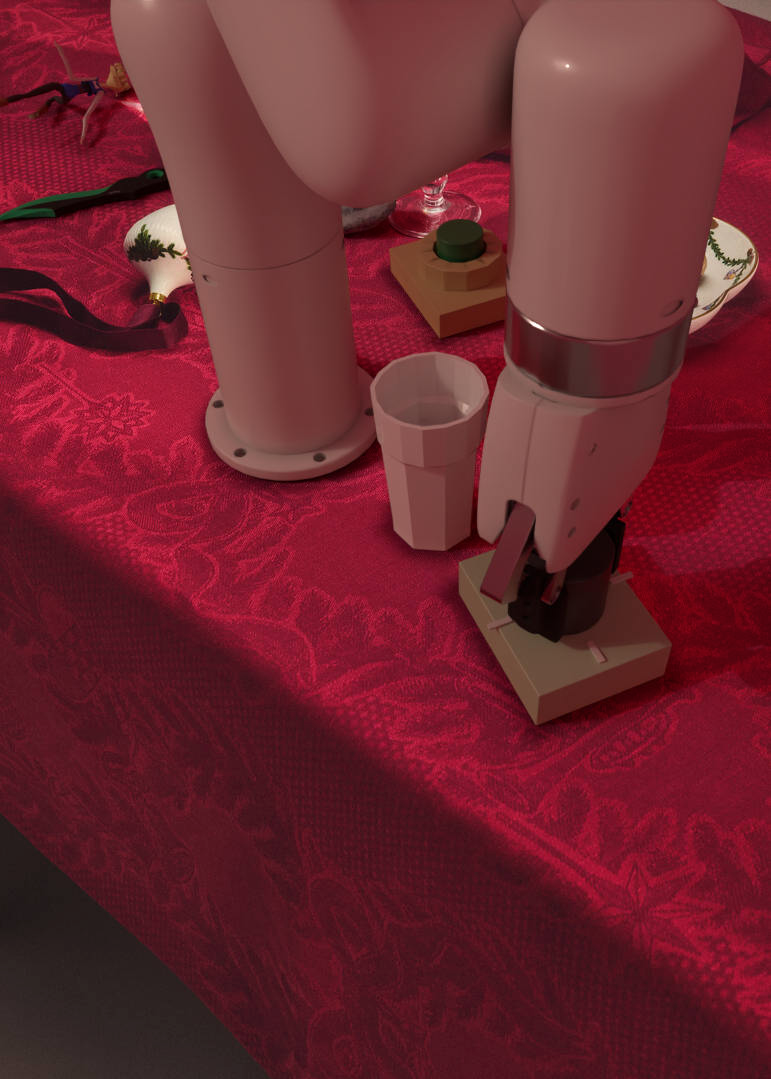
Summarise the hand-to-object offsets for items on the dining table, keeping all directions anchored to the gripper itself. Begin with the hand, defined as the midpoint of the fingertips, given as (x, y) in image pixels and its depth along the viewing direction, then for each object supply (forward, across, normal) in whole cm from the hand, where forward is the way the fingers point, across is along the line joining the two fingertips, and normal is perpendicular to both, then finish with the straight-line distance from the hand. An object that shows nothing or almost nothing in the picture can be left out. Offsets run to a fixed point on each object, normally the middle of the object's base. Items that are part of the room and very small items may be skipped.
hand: (563, 591), depth 55 cm
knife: (+3, -20, -63) cm, 66 cm away
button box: (+4, -24, -24) cm, 34 cm away
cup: (+4, -3, -11) cm, 12 cm away
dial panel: (+4, 0, 0) cm, 4 cm away
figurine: (+1, -37, -75) cm, 84 cm away
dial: (+1, 0, 0) cm, 1 cm away
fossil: (+2, -24, -37) cm, 44 cm away
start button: (0, -24, -24) cm, 34 cm away
